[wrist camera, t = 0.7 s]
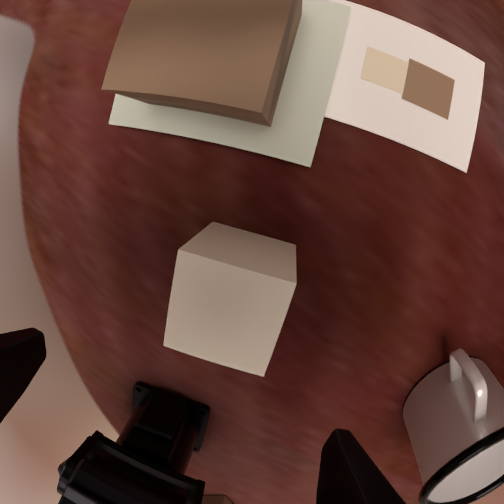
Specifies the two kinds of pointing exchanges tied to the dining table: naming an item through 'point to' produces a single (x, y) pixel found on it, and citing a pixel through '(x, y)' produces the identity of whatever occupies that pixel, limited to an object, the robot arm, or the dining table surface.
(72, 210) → the dining table surface
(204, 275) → the cream block
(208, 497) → the wooden toy
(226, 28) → the walnut block
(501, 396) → the mug
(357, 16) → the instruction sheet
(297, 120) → the board
